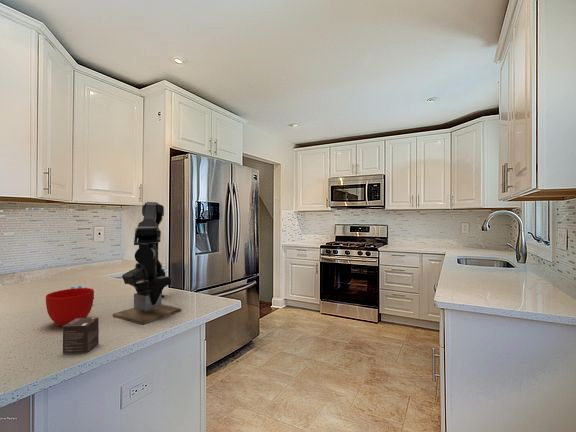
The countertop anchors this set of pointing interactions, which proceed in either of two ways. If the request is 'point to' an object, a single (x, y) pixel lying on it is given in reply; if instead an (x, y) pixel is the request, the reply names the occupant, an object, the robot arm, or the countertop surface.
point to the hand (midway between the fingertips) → (147, 303)
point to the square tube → (145, 300)
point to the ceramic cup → (69, 304)
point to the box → (80, 335)
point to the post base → (146, 314)
